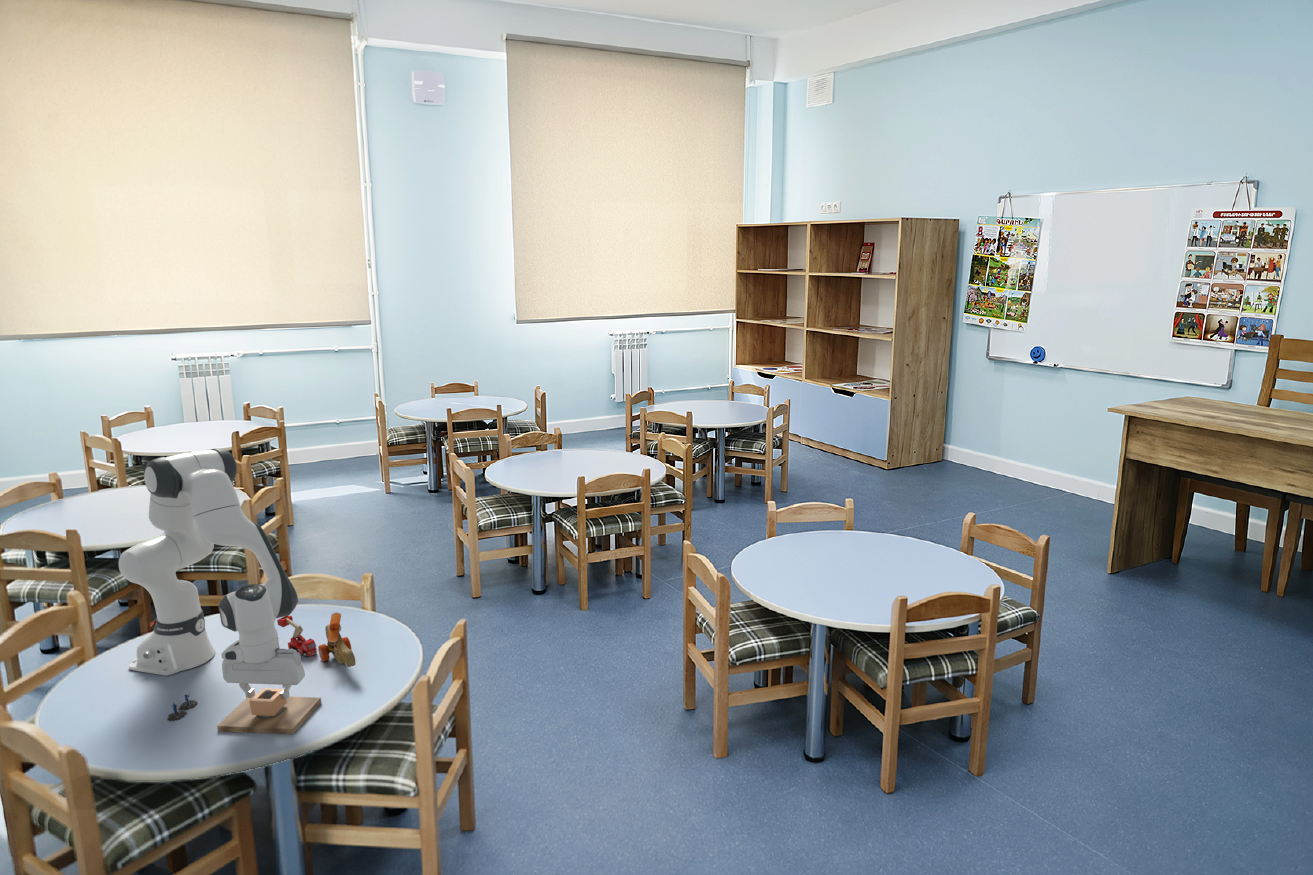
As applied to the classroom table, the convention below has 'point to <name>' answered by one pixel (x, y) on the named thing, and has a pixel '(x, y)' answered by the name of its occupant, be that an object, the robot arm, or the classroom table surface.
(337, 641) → the toy helicopter
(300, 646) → the toy fire truck
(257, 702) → the square frame block
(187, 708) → the figurines
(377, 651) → the classroom table surface
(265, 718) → the stand
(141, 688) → the classroom table surface
